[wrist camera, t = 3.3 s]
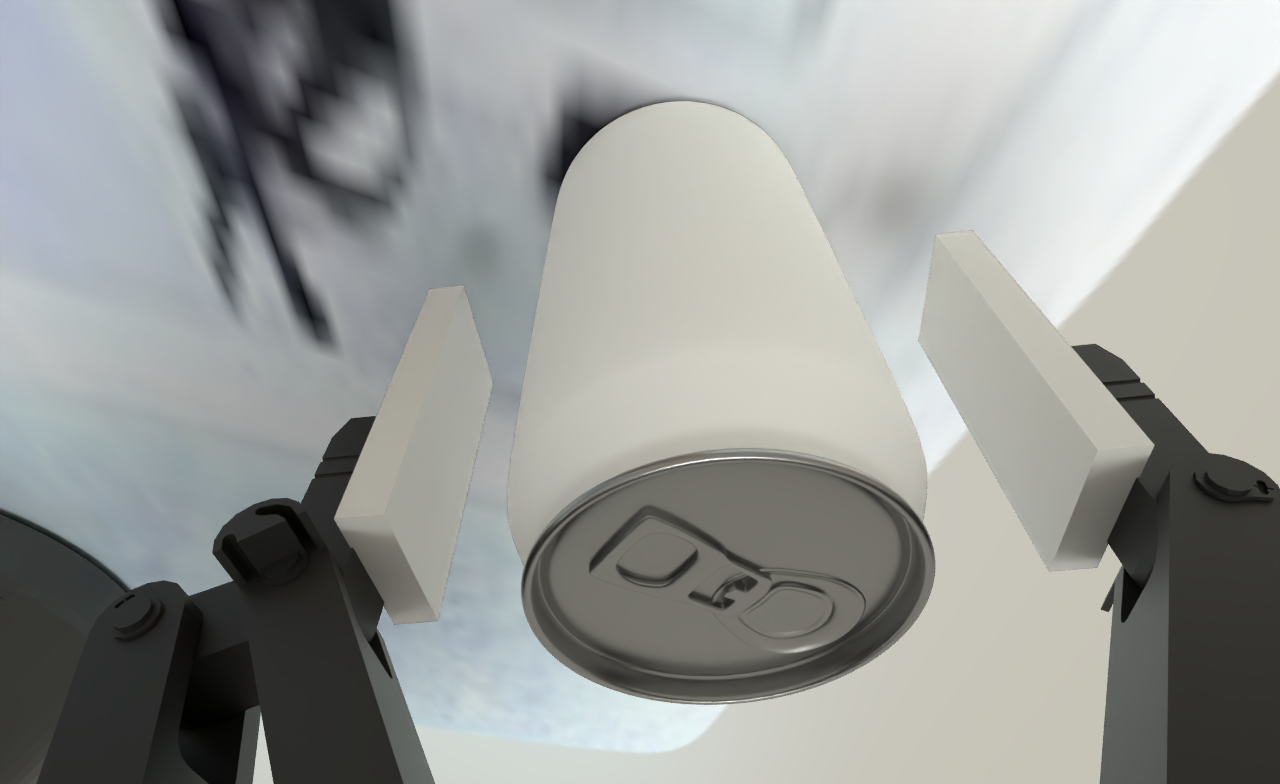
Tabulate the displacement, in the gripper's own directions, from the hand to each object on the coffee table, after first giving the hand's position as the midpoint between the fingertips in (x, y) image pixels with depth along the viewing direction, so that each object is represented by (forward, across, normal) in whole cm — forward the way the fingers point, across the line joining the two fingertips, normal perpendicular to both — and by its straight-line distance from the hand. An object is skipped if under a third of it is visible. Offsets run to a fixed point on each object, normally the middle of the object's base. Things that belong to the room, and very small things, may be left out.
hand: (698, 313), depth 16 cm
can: (+4, 0, 0) cm, 4 cm away
